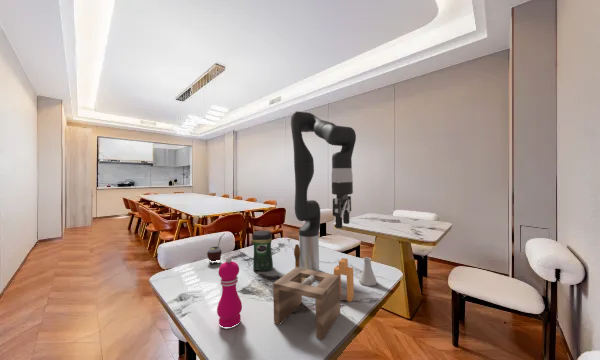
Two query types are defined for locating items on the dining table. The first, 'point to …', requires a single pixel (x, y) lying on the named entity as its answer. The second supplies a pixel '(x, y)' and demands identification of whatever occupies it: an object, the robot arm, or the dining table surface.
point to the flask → (367, 274)
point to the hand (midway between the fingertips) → (342, 225)
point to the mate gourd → (214, 252)
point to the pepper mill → (229, 295)
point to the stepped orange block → (345, 270)
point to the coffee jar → (262, 250)
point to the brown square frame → (293, 289)
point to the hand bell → (297, 258)
